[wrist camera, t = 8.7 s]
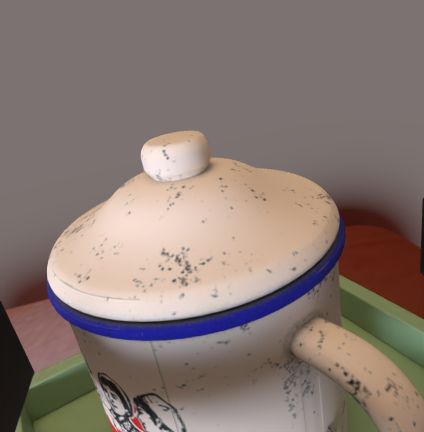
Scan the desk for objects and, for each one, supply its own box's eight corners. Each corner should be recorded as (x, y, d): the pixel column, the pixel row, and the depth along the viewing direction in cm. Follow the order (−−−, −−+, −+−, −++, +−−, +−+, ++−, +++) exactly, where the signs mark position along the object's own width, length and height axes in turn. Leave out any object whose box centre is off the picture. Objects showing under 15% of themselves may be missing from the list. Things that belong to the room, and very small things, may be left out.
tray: (644, 490, 12) (663, 444, 11) (102, 1229, 5) (52, 1244, 5) (296, 277, 25) (293, 249, 24) (14, 422, 18) (-3, 390, 18)
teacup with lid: (86, 425, 17) (-26, 168, 13) (242, 317, 22) (202, 100, 17) (309, 788, 8) (203, 347, 4) (494, 472, 13) (555, 101, 8)
